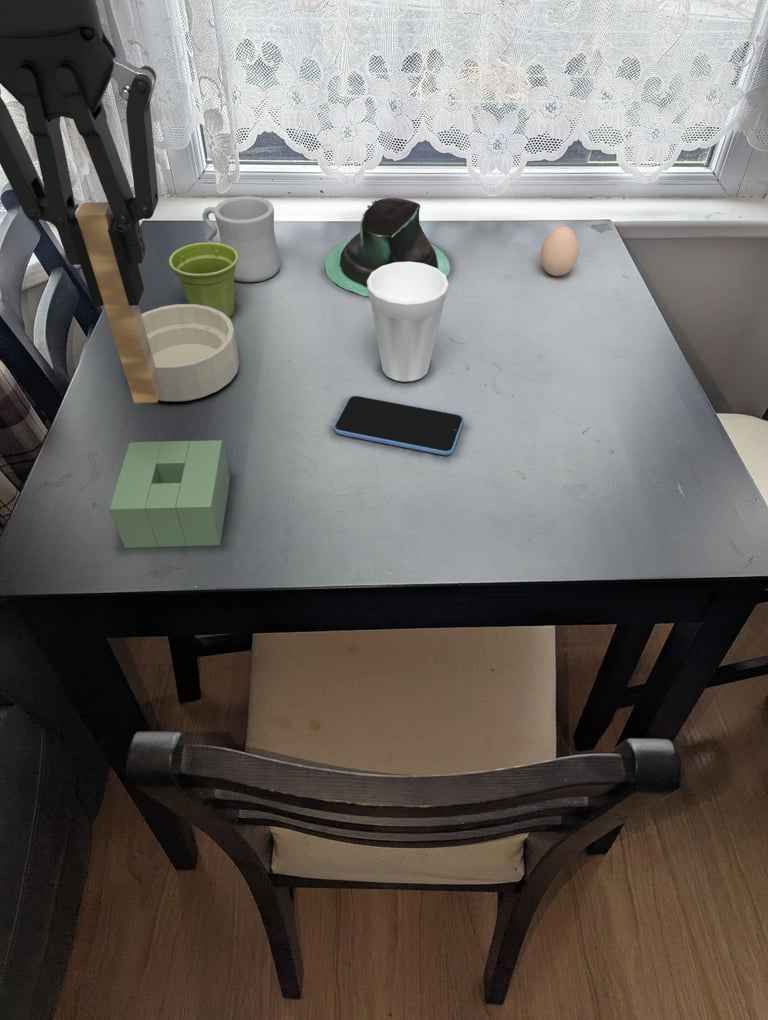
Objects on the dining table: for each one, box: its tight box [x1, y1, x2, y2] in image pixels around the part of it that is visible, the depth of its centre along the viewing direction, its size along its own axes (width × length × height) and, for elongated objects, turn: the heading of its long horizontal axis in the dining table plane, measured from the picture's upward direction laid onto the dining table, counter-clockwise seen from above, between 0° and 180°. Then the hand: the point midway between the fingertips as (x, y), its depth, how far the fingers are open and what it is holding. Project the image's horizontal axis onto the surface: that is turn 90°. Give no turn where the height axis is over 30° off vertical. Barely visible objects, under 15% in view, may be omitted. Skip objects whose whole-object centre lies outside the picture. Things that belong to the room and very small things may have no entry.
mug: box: [202, 195, 281, 283], centre depth 113 cm, size 12×9×10 cm
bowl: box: [141, 303, 240, 402], centre depth 95 cm, size 14×14×6 cm
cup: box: [367, 262, 450, 383], centre depth 93 cm, size 10×10×13 cm
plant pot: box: [168, 241, 238, 319], centre depth 104 cm, size 9×9×9 cm
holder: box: [109, 439, 231, 549], centre depth 78 cm, size 10×10×6 cm
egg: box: [540, 226, 580, 277], centre depth 113 cm, size 6×6×8 cm
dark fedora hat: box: [324, 197, 451, 297], centre depth 116 cm, size 15×19×20 cm
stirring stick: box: [75, 201, 161, 404], centre depth 62 cm, size 2×2×18 cm
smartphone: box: [333, 395, 464, 456], centre depth 89 cm, size 7×1×15 cm
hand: (119, 296), depth 61 cm, fingers closed on stirring stick, 2 cm apart
